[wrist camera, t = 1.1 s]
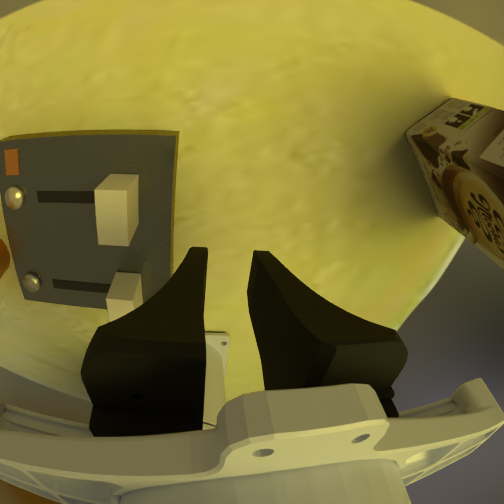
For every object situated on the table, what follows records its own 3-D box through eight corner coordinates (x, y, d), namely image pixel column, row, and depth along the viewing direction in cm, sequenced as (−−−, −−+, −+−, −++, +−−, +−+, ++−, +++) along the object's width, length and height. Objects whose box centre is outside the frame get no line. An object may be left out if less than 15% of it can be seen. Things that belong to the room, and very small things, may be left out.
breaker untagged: (143, 309, 22) (137, 337, 19) (120, 307, 22) (112, 335, 19) (140, 273, 21) (133, 300, 18) (116, 272, 20) (105, 298, 18)
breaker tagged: (138, 223, 19) (128, 246, 16) (112, 222, 18) (98, 244, 16) (138, 174, 17) (126, 190, 15) (110, 173, 17) (94, 189, 14)
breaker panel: (173, 297, 24) (170, 317, 22) (33, 285, 22) (22, 302, 20) (179, 131, 18) (175, 136, 16) (10, 136, 16) (-8, 143, 14)
